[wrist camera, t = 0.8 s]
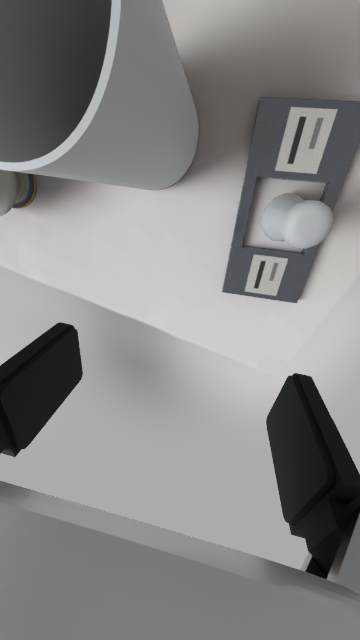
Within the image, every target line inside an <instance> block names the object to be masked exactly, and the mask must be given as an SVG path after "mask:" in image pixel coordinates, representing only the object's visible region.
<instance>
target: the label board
mask: <svg viewBox="0 0 360 640" xmlns="http://www.w3.org/2000/svg"><path fill="white" fill-rule="evenodd" d="M359 141H360V102H353V101H332V100H311V99H290V98H269V97H261V98H260V101H259V106H258V112H257V117H256V122H255V127H254V132H253V137H252V142H251V147H250V152H249V157H248V162H247V168H246V173H245V178H244V183H243V188H242V193H241V198H240V203H239V208H238V213H237V218H236V224H235V229H234V234H233V239H232V244H231V249H230V254H229V259H228V264H227V269H226V274H225V280H224V285H223V291H222V292H225V293H232V294H239V295H246V296H252V297H259V298H266V299H273V300H279V301H286V302H293V303H297V301H298V298H299V296H300V293H301V290H302V288H303V285H304V283H305V280H306V277H307V275H308V272H309V270H310V267H311V265H312V262H313V259H314V257H315V254H316V252H317V249H318V247H319V244H320V243H319V244H317V245H316V246H312V247H309V248H303V250H302V253H295V252H287V251H278V250H270V249H262V248H254V247H246V246H242V243H243V239H244V234H245V229H246V225H247V220H248V216H249V211H250V207H251V202H252V198H253V193H254V188H255V184H256V179H257V177H260V178H272V179H283V180H294V181H306V182H317V183H326V186H325V188H324V191H323V194H322V197H321V200H320V201H321V202H322V203H324V204H325V205H327V206H328V207H330V209H331V212H332V210H333V208H334V205H335V203H336V200H337V197H338V195H339V192H340V190H341V187H342V185H343V182H344V179H345V177H346V174H347V172H348V169H349V166H350V164H351V161H352V159H353V156H354V154H355V151H356V148H357V146H358V143H359Z"/></svg>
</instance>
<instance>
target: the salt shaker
mask: <svg viewBox="0 0 360 640" xmlns="http://www.w3.org/2000/svg"><path fill="white" fill-rule="evenodd" d="M332 224H333V215H332V212H331V209H330V207H328V206H327V205H325V204H324V203H322V202H321V201H317V200H306V201H305V200H304V199H302V198H301V197H299V196H298V195H296V194H283V195H281V196H278V197H276V198H274V199H273V200H272V201H271V202H270V203H269V204H268V205H267V206H266V207H265V210H264V212H263V214H262V216H261V227H262V229H263V231H264V233H265V235H266V236H267V237H269V238H270V239H271V240H273V241H286V242H287V243H288V244H290V245H291V246H292V247H295V248H309V247H312V246H316V245H317V244H319V243H320V242H321V241H322V240H324V239H325V238H326V237H327V235H328V233H329V232H330V230H331V229H332Z"/></svg>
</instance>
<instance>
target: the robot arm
mask: <svg viewBox="0 0 360 640" xmlns="http://www.w3.org/2000/svg"><path fill="white" fill-rule="evenodd" d="M82 374H83V372H82V364H81V356H80V348H79V341H78V333H77V330H76V329H75V328H74V326H72V325H69V324H64V323H57V324H56V325H55V326H53V327H52V328H51V329H49V330H48V331H46V332H45V333H44V334H42V335H41V336H40V337H38V338H37V339H36V340H34V341H33V342H32V343H30V344H29V345H28V346H26V347H25V348H23V349H22V350H21V351H20V352H18V353H17V354H16V355H14V356H13V357H11V358H10V359H9V360H7V361H6V362H5V363H3V364H2V365H1V366H0V453H1V452H2V453H3V454H6V455H10V456H13V457H16V455H17V454H18V453H19V452H20V450H21V449H25V448H26V447H27V446H28V445H29V444H30V443H31V442H32V440H33V439H34V438H35V437H36V435H37V434H38V433H39V432H40V430H41V429H42V428H43V427H44V425H45V424H46V423H47V422H48V420H49V419H50V418H51V417H52V415H53V414H54V412H56V410H57V409H58V408H59V406H60V405H61V404H62V403H63V401H64V400H65V399H66V398H67V396H68V395H69V394H70V393H71V391H72V390H73V389H74V388H75V386H76V385H77V384H78V383H79V381H80V380H81V378H82ZM266 423H267V431H268V436H269V441H270V447H271V452H272V458H273V463H274V468H275V474H276V479H277V484H278V490H279V495H280V501H281V506H282V512H283V516H284V519H285V521H286V522H287V523H289V526H290V530H291V534H292V535H295V536H298V537H302V538H305V540H306V543H307V548H308V551H309V553H308V555H307V557H306V559H305V562H304V564H303V566H302V568H301V570H298V569H295V568H291V567H288V566H285V565H282V564H279V563H276V562H273V561H269V560H267V559H263V558H260V557H257V556H254V555H250V554H248V553H244V552H241V551H237V550H234V549H231V548H227V547H224V546H221V545H217V544H214V543H211V542H207V541H204V540H201V539H197V538H194V537H190V536H187V535H184V534H181V533H177V532H174V531H170V530H167V529H164V528H160V527H157V526H153V525H150V524H147V523H143V522H140V521H137V520H133V519H129V518H126V517H123V516H119V515H116V514H113V513H109V512H106V511H102V510H99V509H96V508H92V507H89V506H85V505H82V504H78V503H75V502H71V501H68V500H65V499H61V498H58V497H54V496H51V495H47V494H44V493H40V492H37V491H33V490H30V489H26V488H23V487H19V486H16V485H13V484H9V483H6V482H2V481H0V640H360V474H359V472H358V470H357V468H356V466H355V464H354V462H353V460H352V458H351V456H350V454H349V452H348V450H347V448H346V446H345V444H344V442H343V439H342V438H341V436H340V433H339V431H338V429H337V427H336V425H335V423H334V421H333V419H332V418H331V416H330V414H329V412H328V410H327V408H326V406H325V404H324V402H323V400H322V398H321V396H320V394H319V391H318V389H317V388H316V386H315V383H314V381H313V379H312V378H311V377H310V376H306V375H302V374H297V373H295V374H293V375H292V376H288V378H287V379H286V381H285V383H284V385H283V387H282V389H281V391H280V393H279V395H278V397H277V399H276V401H275V403H274V405H273V407H272V409H271V410H270V412H269V415H268V416H267V422H266Z"/></svg>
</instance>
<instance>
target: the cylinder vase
mask: <svg viewBox="0 0 360 640" xmlns="http://www.w3.org/2000/svg"><path fill="white" fill-rule="evenodd" d="M198 136H199V124H198V116H197V111H196V107H195V104H194V101H193V98H192V94H191V91H190V88H189V85H188V82H187V78H186V75H185V72H184V69H183V66H182V63H181V59H180V56H179V53H178V50H177V47H176V44H175V40H174V37H173V34H172V31H171V28H170V25H169V21H168V18H167V15H166V12H165V9H164V6H163V2H162V0H0V169H1V170H8V171H15V172H22V173H29V174H37V175H44V176H51V177H59V178H66V179H73V180H80V181H88V182H95V183H102V184H110V185H117V186H124V187H131V188H139V189H146V190H160V189H164V188H167V187H169V186H171V185H173V184H174V183H176V182H177V181H178V180H179V179H181V178H182V176H183V175H184V174H185V173H186V171H187V170H188V168H189V167H190V165H191V163H192V161H193V158H194V156H195V153H196V149H197V144H198Z"/></svg>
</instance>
